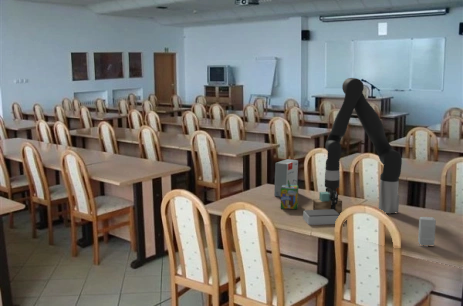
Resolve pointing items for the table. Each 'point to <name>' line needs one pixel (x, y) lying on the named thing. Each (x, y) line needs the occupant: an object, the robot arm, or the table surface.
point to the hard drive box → (285, 174)
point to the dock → (320, 216)
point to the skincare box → (426, 230)
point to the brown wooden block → (326, 205)
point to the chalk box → (289, 196)
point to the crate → (324, 196)
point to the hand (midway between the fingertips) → (331, 209)
